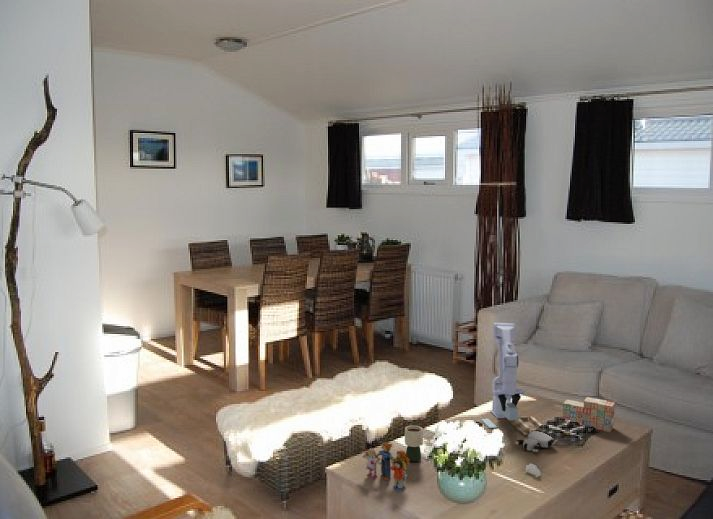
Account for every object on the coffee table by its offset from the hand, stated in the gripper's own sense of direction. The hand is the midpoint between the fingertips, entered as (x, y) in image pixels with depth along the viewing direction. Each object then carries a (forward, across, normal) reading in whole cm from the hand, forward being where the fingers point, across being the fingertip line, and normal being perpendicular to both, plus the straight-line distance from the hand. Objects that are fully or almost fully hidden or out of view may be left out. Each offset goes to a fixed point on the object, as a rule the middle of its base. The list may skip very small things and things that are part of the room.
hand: (508, 410), depth 282 cm
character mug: (+10, -49, -23) cm, 55 cm away
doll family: (+10, -62, -38) cm, 73 cm away
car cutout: (+10, -9, -38) cm, 40 cm away
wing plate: (+10, -6, +8) cm, 14 cm away
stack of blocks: (+10, +39, +1) cm, 40 cm away
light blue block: (+2, 0, 0) cm, 2 cm away
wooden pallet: (+9, +11, +1) cm, 14 cm away
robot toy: (+10, +5, -18) cm, 21 cm away
